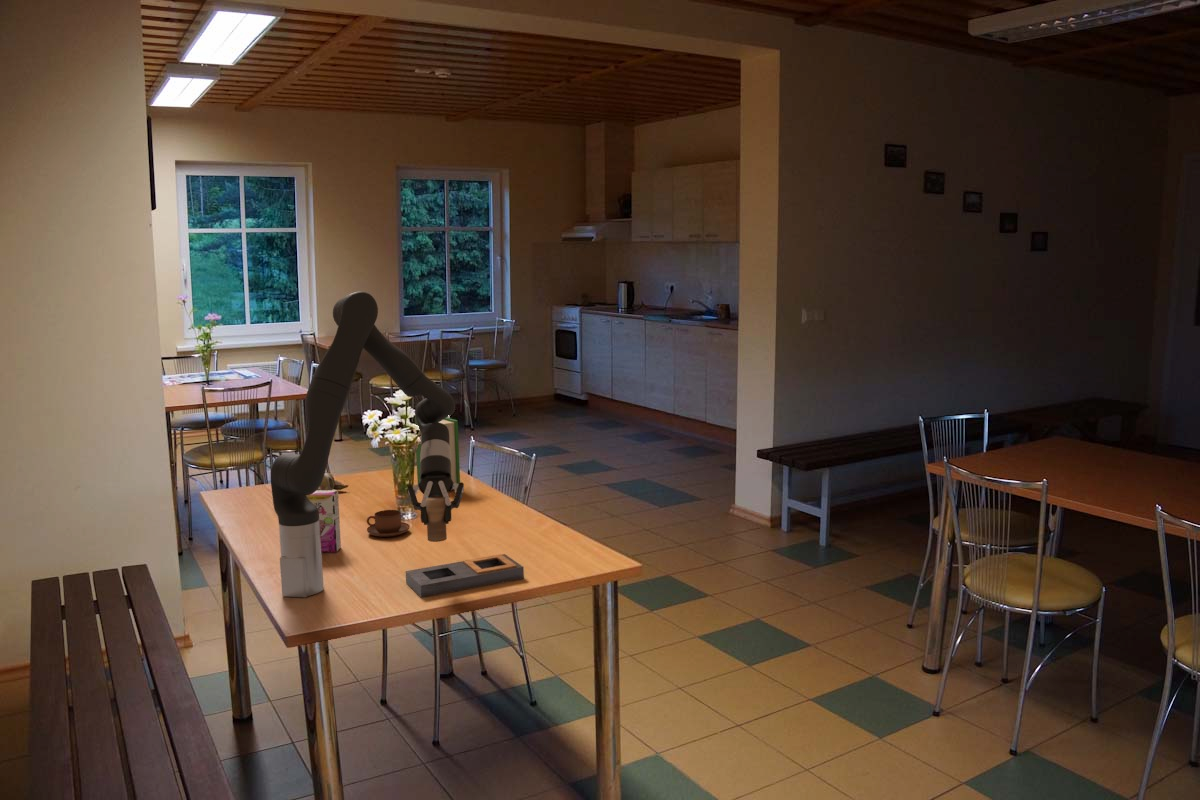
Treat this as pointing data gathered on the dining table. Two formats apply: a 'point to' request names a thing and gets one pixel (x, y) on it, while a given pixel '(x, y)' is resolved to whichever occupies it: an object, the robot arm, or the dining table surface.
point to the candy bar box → (328, 518)
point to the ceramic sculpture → (330, 483)
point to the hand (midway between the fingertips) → (436, 522)
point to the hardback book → (454, 449)
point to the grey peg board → (464, 575)
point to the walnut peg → (436, 519)
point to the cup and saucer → (387, 524)
